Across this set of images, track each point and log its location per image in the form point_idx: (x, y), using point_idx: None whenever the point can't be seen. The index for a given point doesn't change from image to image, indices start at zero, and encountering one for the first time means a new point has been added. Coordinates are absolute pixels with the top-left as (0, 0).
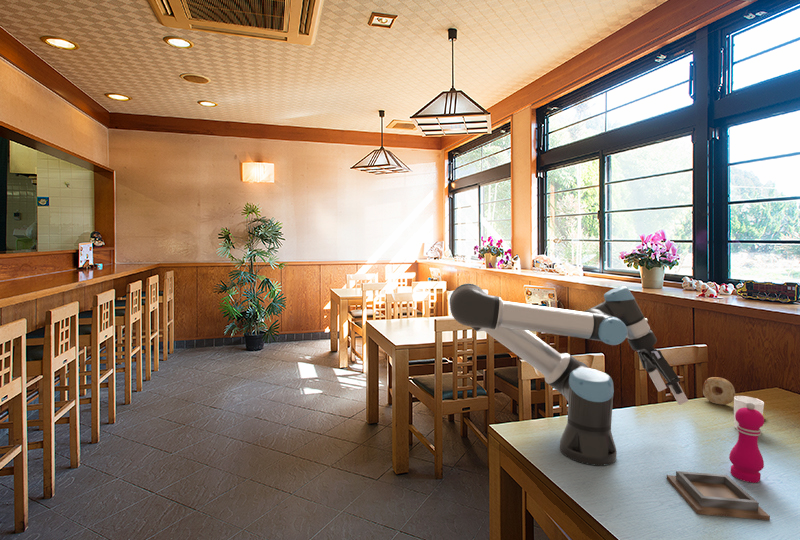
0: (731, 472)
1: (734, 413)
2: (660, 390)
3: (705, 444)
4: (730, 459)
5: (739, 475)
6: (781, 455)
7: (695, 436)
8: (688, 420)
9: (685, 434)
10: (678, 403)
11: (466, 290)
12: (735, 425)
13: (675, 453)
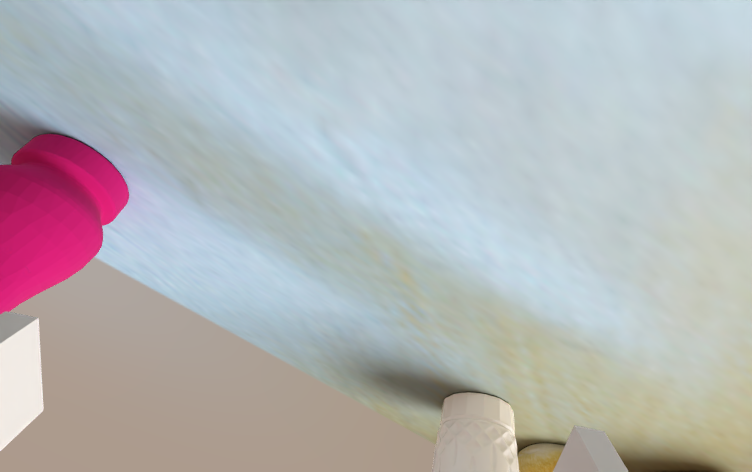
0: (65, 142)
1: (497, 450)
2: (567, 447)
3: (362, 242)
4: (17, 175)
5: (25, 146)
6: (297, 354)
7: (447, 262)
8: (612, 344)
9: (475, 241)
10: (9, 322)
11: None
12: (491, 404)
13: (225, 22)
